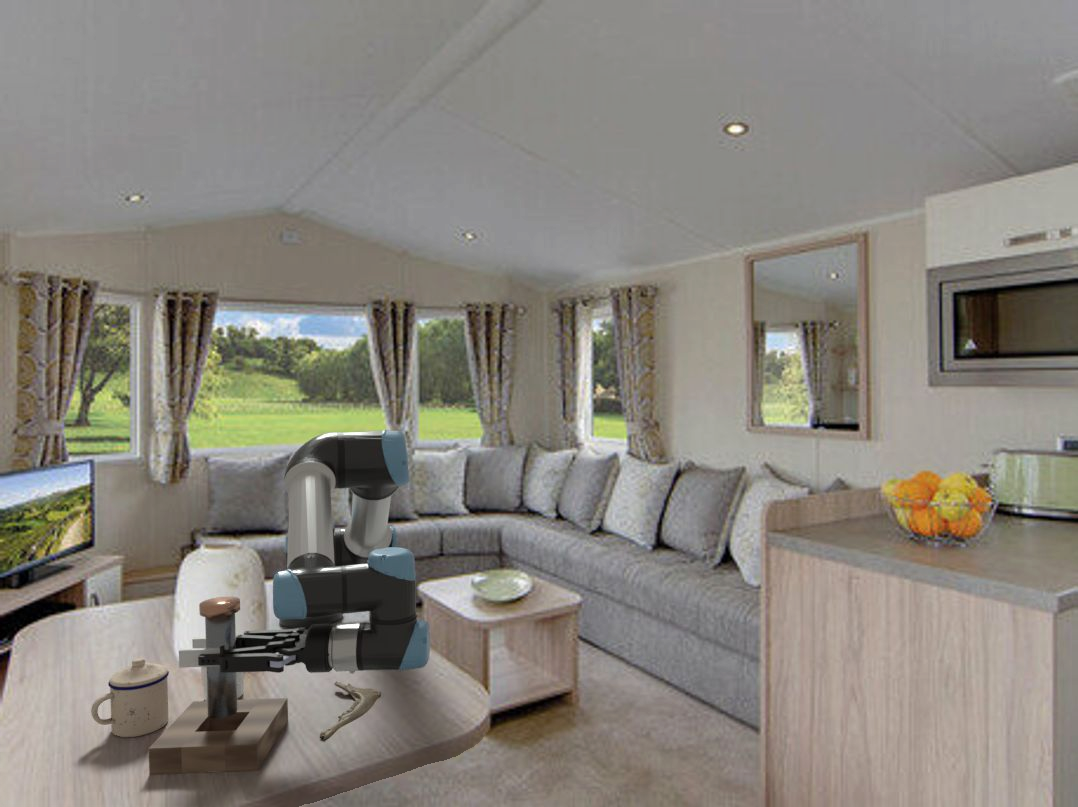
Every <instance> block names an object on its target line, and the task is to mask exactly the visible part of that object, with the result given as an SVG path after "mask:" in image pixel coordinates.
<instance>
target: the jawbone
mask: <svg viewBox="0 0 1078 807" xmlns="http://www.w3.org/2000/svg"><path fill="white" fill-rule="evenodd" d="M333 685H335V687H338V688H340V689H341V690H343V691H345V692H346V693H347V694H349V695H350V696H351V698H352V699H354V701H353V703H352V705H351V707H349V708H348V709H346V711H343V712H342V713H341V714H339V715H338V716H337V718H338V719H339V721H338V722H336V723H335V724H334V725H332V726H331V727H328V729H325V730H324V731H321V732H320V733H319V739H320V740H323V741H325V739H328V738H330V737H331V736H332V735H333V734H334V733H335V732H336V731H338V730H339V729H340V728H343V726H346V725H348V724H349V723H351V722H353V721H355V720H357V719H358V718H361V717H362V716H364V715H365V714H366V713H368V711H369V710H371V709H372V707H373V706H374V704H375V702H376V701H377V699H378V698H380V697H381V696H382V693H381V691H380V690H378V689H375V688H361V687H355V686H353V685H352V684H351V683H349V682H348V683H347V685H346V684H344V683H342V682H340V681H339V682H338V681H336V680H335V682H334V683H333ZM380 694H381V695H380ZM379 696H380V697H379Z"/></svg>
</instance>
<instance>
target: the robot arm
mask: <svg viewBox="0 0 1078 807" xmlns="http://www.w3.org/2000/svg"><path fill="white" fill-rule="evenodd" d="M406 441H407V440H406V436H405V434H404V433H403V432H402V431H400V430H388V429H383V430H369V431H342V432H340V431H339V432H338V431H337V432H336V431H335V432H326V433H321V434H320V435H317V436H314V437H312V438H311V439H309V440H308V441H307V442H305V443H303V444H302V445H301V446H300V447H299V448H298V449H297V450H296V451H295V452H294V454H292V457H291V458H290V459H289V461H288V463H287V465H286V467H285V471H284V479H283V484H284V489H285V493H287V495H288V497H289V500H288V501H289V502H288V528H287V529H288V532H287V533H286V535H285V540H284V542H285V544H284V550H283V551H284V552H283V553H285V570H280V571H277V572H275V573H274V575H273V580H272V606H273V608H272V609H273V615H274V616H275V617H276V618H277V619H278V622H279V624H280V625H281V626H283V627H286V629H263V630H258V629H257V630H245V631H244V632H243V634H238V635H237V634H236V649H230V650H225V645H224V646H221V647H220V648H206V636H204V637H203V636H202V637H201V636H200V637H193V638H192V640H191V641H192V643H191V644H192V648H179V650H178V668H180V669H181V668H201V667H213V666H220V672H221V673H226V672H244V673H253V672H254V673H256V672H257V673H258V672H268V673H269V672H271V673H277V674H278V673H280V674H281V673H282V672H284V671H285V670H284V669H285V668H284V667H285V666H286V667H288V666H293V665H296V664H301V663H303V664H304V665H305V669H306V670H307V672H308V673H311V674H312V673H330V672H331V671H332V670H334V672H349V674H353V675H354V674H355V673H356V672H357V671H358V672H359V671H360V672H363V671H364V672H365V671H399V672H401V671H407V670H415V669H423V668H424V667H425V666H427V664H428V662H429V660H430V652H431V633H430V631H431V630H430V629H431V628H430V623H429V622H428V621H426V620H421V619H418V615H417V598H416V596H417V594H416V593H417V590H416V589H417V587H416V585H417V584H416V582H417V574H416V563H415V555H414V553H413V552H412V550H410V549H408V548H406V547H398V535H397V530H396V527H395V526H394V525H393V524H390V523H388V522H389V515H390V508H391V507H390V506H391V502H392V501H391V500H392V496H393V495H394V494H395V493H396V492H397V491H398V489H399V488H400V487H403V486H407V485H408V484H409V483H410V473H409V463H408V452H407V442H406ZM336 489H337V490H338V489H339V490H340V489H349V490H350V491H351V493H352V500H351V514H350V515H351V518H350V521H349V522H348V523H347V524H346V526H345V527H344V526H343V527H335V525H334V523H333V511H332V510H333V508H332V507H333V505H332V494H333V491H334V490H336ZM367 612H369V616H368V617H369V618H368V619H369V622H365V621H364V622H363V621H362V622H361V621H360V622H359V621H358V622H357V621H356V622H354V621H353V622H338V621H339V620H341V619H342V618H343V616H344V614H345V615H346V614H356V613H367ZM335 622H338V623H337V624H336V625H334V624H333V623H335ZM287 628H288V629H287ZM305 629H307V632H306V633H305Z"/></svg>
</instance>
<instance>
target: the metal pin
mask: <svg viewBox="0 0 1078 807" xmlns="http://www.w3.org/2000/svg"><path fill="white" fill-rule="evenodd" d="M198 607H199V616H201V617H203V618H204V619H205V620H204V622H205V623H204V624H205V626H204V627H205V628H204V629H205V637H206V648H220V647H221V646H224V645H225V650H230V649H236V636H237V634H236V613H238V612H239V611H241V598H239V597H237V596H219V597H218V596H217V597H213V598H209V599H206V600H205V599H204V600H203V601H201V602H200V603H199V605H198ZM237 700H238V699H237V673H236V672H226V673H221V672H220V666H213V667H207V704H208V717H210V718H214V719H219V718H225V717H229V716H231V715H233V714H235V713H236V712H237Z"/></svg>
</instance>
